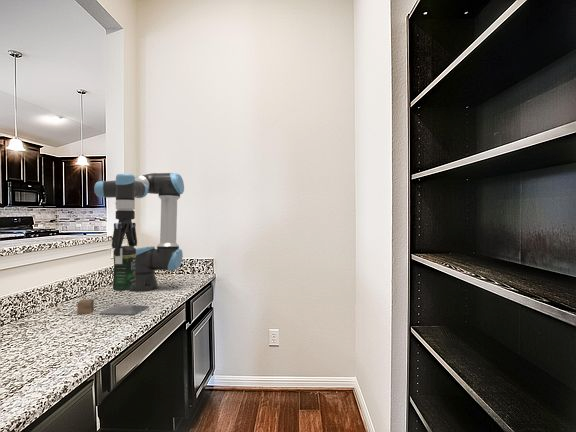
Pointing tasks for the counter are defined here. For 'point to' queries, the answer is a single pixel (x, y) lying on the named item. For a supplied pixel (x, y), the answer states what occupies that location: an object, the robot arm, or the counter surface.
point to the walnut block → (85, 306)
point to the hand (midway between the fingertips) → (125, 262)
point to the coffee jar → (125, 270)
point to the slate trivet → (124, 310)
